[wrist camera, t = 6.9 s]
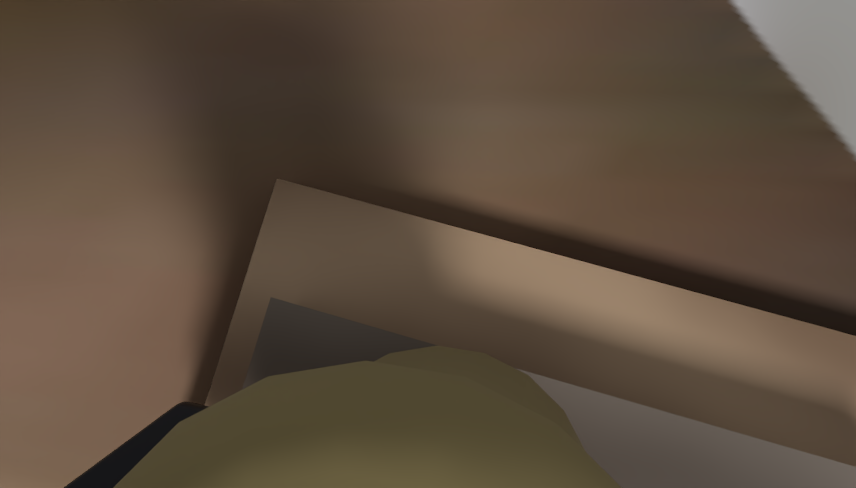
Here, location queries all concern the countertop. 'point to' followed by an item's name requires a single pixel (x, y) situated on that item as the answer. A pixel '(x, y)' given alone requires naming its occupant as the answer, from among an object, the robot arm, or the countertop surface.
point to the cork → (379, 431)
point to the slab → (552, 343)
